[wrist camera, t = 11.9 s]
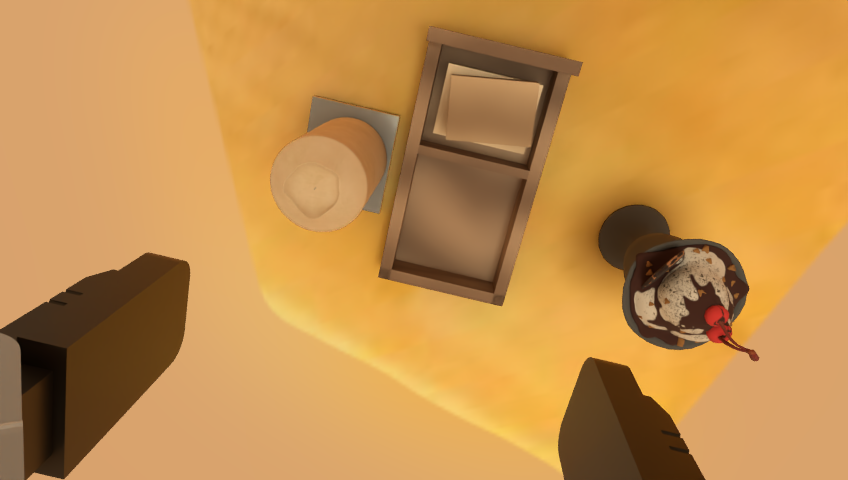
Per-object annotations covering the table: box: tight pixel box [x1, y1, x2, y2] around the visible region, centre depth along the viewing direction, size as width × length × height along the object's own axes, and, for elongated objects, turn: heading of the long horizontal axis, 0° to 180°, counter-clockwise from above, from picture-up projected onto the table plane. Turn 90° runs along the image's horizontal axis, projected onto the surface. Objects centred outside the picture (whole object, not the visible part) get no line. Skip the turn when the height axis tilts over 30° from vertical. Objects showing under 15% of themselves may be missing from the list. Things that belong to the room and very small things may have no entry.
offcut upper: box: [446, 74, 540, 147], centre depth 36 cm, size 4×5×2 cm
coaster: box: [307, 96, 400, 213], centre depth 41 cm, size 7×6×1 cm
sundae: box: [599, 205, 759, 361], centre depth 34 cm, size 7×7×15 cm
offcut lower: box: [433, 62, 543, 154], centre depth 38 cm, size 4×6×2 cm
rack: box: [378, 26, 583, 306], centre depth 38 cm, size 17×9×5 cm, turn 167°
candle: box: [270, 117, 387, 232], centre depth 36 cm, size 6×6×10 cm
